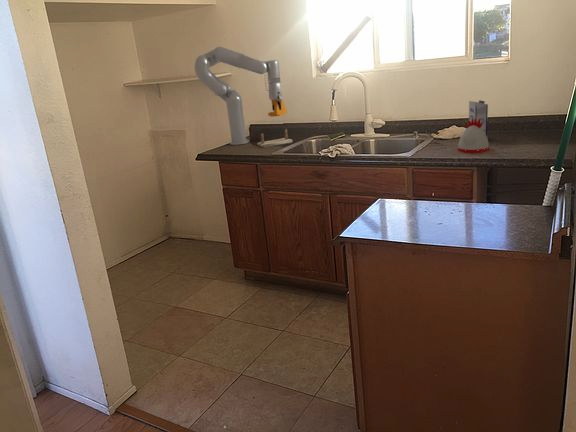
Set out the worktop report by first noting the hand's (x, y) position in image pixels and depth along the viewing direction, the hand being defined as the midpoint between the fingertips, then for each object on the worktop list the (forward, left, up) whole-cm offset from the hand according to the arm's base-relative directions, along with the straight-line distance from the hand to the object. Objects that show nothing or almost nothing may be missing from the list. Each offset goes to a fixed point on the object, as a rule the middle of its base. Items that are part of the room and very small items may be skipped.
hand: (277, 110), depth 310 cm
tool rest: (+14, -10, -18) cm, 25 cm away
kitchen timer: (+116, +49, -18) cm, 127 cm away
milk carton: (+100, +68, -18) cm, 122 cm away
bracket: (0, 0, -4) cm, 4 cm away
